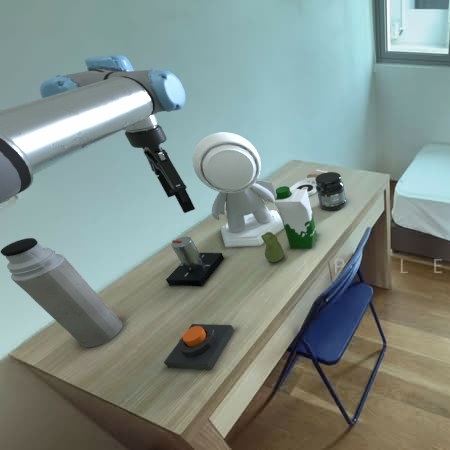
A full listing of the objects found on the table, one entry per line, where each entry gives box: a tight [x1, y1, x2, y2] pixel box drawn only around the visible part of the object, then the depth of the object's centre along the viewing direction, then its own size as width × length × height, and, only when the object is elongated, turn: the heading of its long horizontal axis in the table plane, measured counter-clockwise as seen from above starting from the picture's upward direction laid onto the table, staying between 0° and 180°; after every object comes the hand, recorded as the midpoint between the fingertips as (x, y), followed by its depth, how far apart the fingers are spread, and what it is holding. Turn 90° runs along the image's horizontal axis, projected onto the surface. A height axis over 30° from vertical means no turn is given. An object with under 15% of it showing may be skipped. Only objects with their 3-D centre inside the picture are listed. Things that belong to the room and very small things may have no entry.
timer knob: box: [170, 236, 204, 271], centre depth 89 cm, size 5×5×9 cm
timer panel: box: [165, 251, 225, 288], centre depth 92 cm, size 12×10×3 cm
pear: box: [261, 232, 284, 263], centre depth 93 cm, size 6×5×10 cm
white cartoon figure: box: [191, 131, 285, 248], centre depth 100 cm, size 20×23×35 cm
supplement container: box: [315, 171, 347, 211], centre depth 119 cm, size 10×10×12 cm
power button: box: [182, 326, 206, 347], centre depth 69 cm, size 4×4×2 cm
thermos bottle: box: [0, 237, 123, 348], centre depth 68 cm, size 8×8×28 cm
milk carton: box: [273, 185, 318, 249], centre depth 97 cm, size 9×9×20 cm
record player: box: [289, 169, 327, 197], centre depth 135 cm, size 12×3×20 cm
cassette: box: [255, 178, 277, 200], centre depth 127 cm, size 12×2×8 cm, turn 67°
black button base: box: [163, 323, 235, 371], centre depth 70 cm, size 10×10×4 cm
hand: (181, 202), depth 87 cm, fingers open, 13 cm apart
